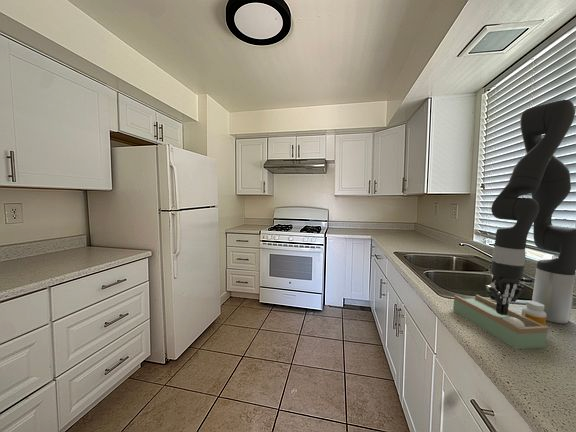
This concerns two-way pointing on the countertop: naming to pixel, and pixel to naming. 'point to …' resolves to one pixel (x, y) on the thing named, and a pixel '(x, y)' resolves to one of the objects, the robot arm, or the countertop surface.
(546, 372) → the countertop surface
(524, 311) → the supplement bottle
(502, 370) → the countertop surface
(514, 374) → the countertop surface
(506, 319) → the ball
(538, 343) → the runway
